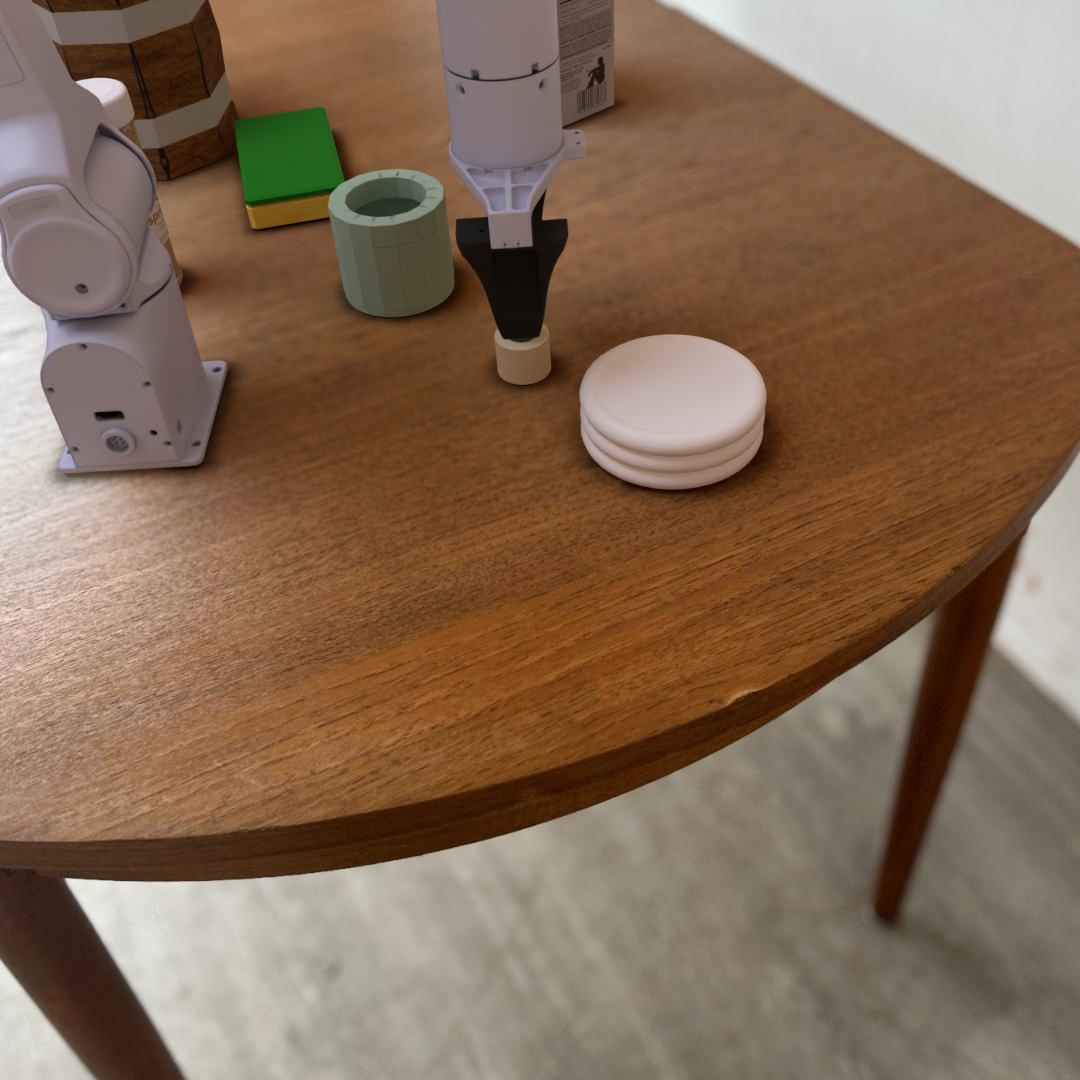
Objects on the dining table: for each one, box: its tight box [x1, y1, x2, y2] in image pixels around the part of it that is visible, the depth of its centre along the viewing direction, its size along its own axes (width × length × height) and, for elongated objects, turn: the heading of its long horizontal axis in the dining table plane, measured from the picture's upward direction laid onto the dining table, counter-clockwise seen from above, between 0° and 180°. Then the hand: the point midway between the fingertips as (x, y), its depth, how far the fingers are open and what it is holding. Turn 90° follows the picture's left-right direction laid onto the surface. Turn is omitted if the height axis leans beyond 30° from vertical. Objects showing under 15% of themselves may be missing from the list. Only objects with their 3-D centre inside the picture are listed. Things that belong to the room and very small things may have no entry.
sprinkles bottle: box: [76, 78, 184, 287], centre depth 75 cm, size 5×5×13 cm
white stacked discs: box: [578, 333, 768, 490], centre depth 65 cm, size 10×10×4 cm
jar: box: [328, 168, 456, 318], centre depth 76 cm, size 7×7×6 cm
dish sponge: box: [234, 106, 346, 230], centre depth 89 cm, size 7×14×2 cm, turn 14°
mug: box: [32, 0, 241, 181], centre depth 93 cm, size 20×14×15 cm
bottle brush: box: [494, 323, 552, 386], centre depth 67 cm, size 3×3×11 cm
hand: (519, 296), depth 68 cm, fingers open, 7 cm apart
